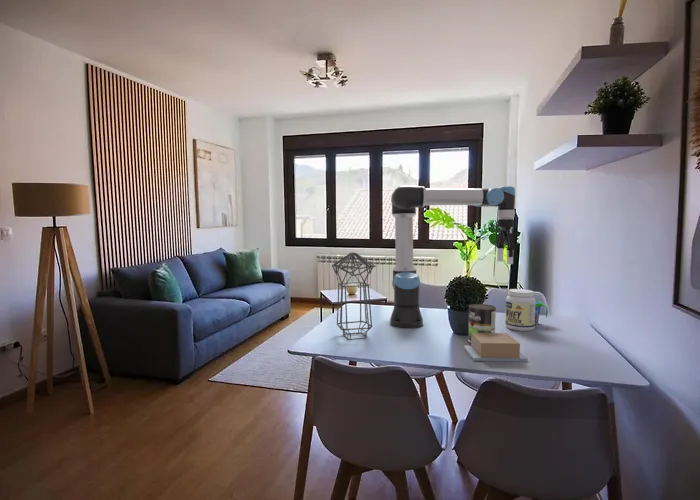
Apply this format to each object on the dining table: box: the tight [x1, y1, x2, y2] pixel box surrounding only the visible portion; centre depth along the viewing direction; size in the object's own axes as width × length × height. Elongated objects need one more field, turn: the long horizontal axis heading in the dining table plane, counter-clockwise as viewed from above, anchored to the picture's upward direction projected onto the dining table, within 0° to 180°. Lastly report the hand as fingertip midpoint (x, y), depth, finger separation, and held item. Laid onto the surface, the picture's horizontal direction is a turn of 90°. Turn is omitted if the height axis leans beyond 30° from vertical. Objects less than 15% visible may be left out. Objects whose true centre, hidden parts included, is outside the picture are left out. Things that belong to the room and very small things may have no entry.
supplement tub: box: [504, 288, 537, 332], centre depth 180 cm, size 12×12×17 cm
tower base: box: [463, 332, 528, 363], centre depth 144 cm, size 18×14×6 cm
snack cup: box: [535, 299, 549, 325], centre depth 190 cm, size 16×10×10 cm
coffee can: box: [467, 303, 497, 344], centre depth 159 cm, size 10×10×14 cm
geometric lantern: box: [331, 252, 377, 341], centre depth 167 cm, size 16×16×35 cm
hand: (504, 262), depth 196 cm, fingers open, 13 cm apart
